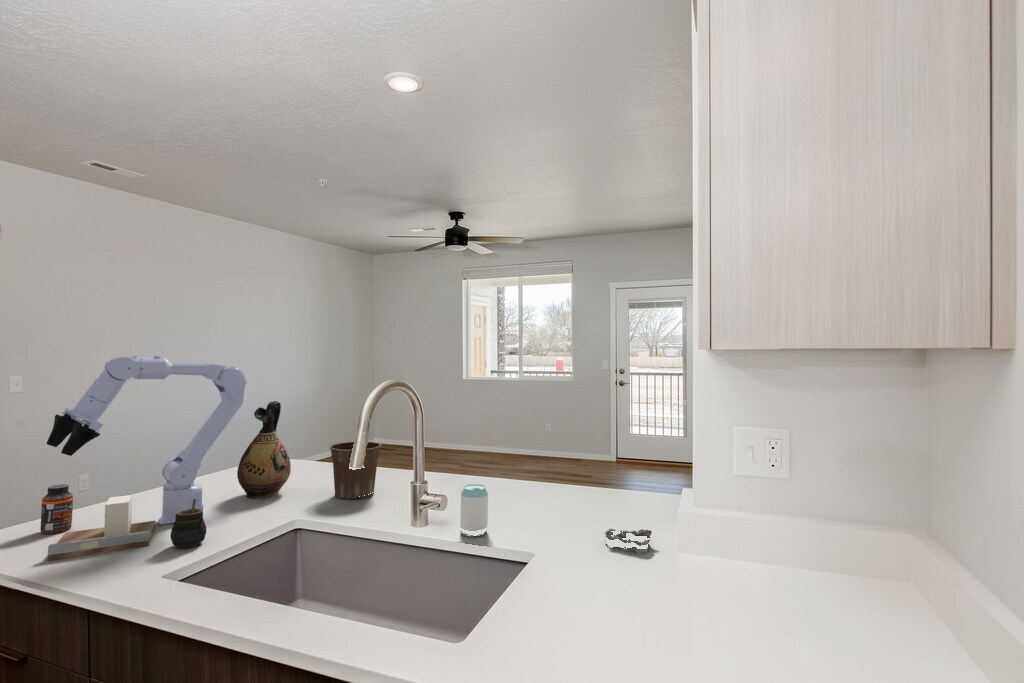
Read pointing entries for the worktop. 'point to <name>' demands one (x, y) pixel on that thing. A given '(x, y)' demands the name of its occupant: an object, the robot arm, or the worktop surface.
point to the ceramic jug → (265, 458)
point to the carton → (118, 515)
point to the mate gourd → (188, 528)
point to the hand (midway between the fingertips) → (58, 449)
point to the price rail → (98, 542)
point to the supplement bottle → (56, 510)
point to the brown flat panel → (97, 534)
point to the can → (474, 508)
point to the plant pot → (354, 471)
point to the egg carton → (620, 536)
